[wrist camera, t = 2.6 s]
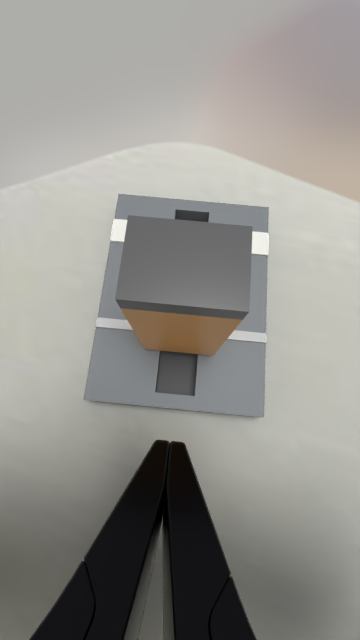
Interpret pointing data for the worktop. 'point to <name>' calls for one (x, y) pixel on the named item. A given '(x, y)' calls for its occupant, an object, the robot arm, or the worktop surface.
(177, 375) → the fader console
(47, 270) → the worktop surface
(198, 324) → the fader tab
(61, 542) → the worktop surface
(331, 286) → the worktop surface
